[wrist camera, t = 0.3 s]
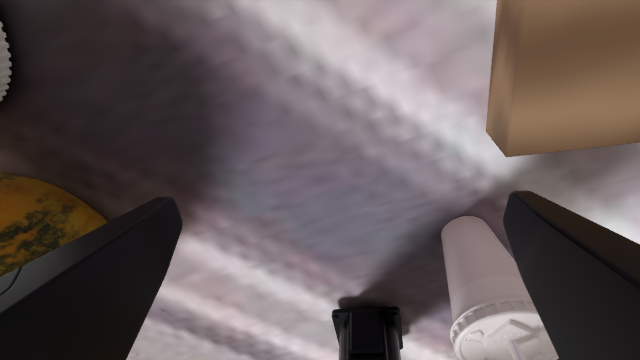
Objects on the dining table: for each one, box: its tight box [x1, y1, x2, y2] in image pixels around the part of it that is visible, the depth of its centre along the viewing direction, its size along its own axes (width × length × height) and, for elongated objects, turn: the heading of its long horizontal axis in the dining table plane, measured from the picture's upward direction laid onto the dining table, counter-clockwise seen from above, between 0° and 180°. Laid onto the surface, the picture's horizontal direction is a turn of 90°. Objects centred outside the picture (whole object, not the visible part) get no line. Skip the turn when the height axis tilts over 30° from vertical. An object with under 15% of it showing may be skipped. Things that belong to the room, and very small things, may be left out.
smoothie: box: [441, 216, 559, 360], centre depth 22 cm, size 6×6×14 cm
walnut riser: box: [486, 0, 640, 157], centre depth 17 cm, size 12×12×4 cm
